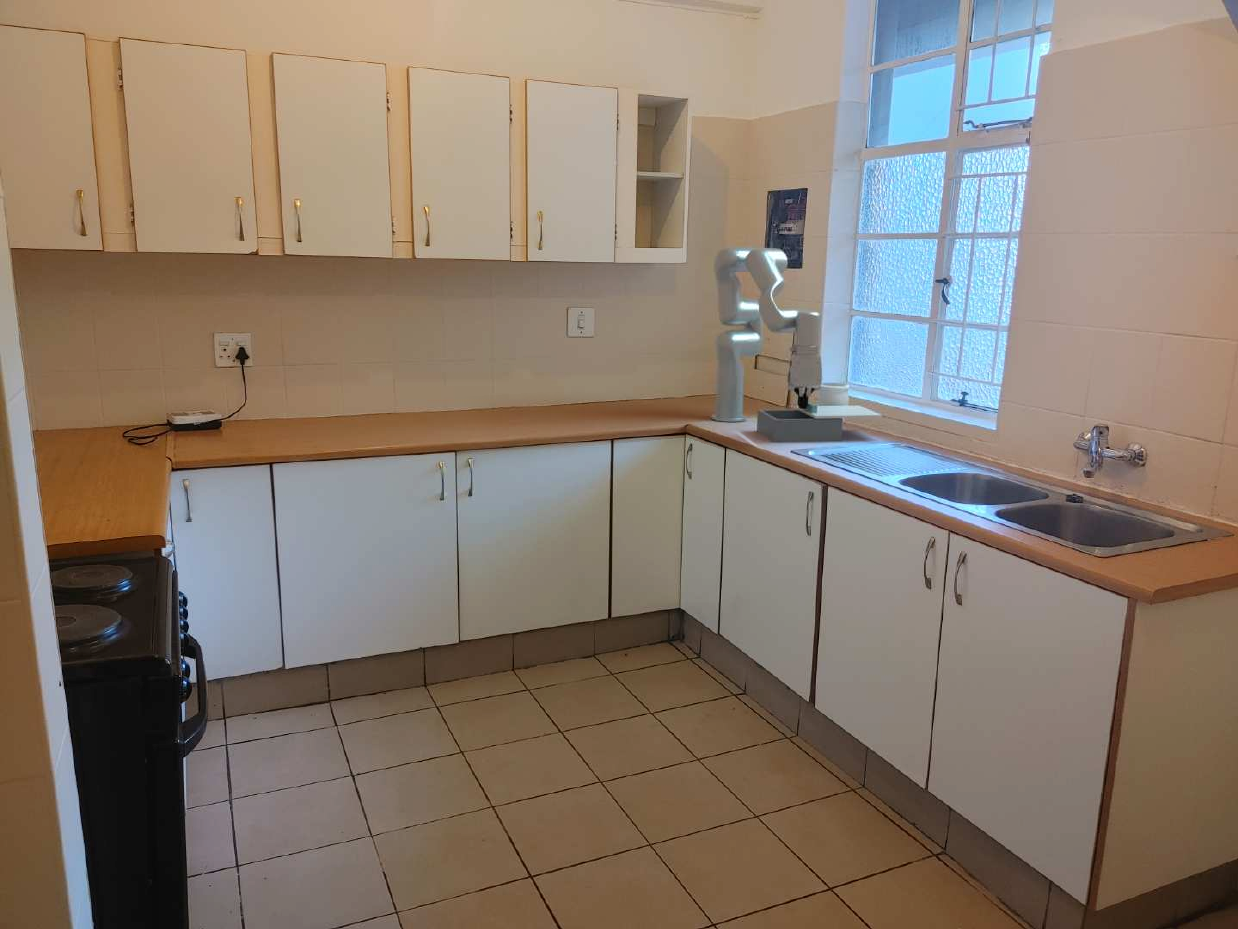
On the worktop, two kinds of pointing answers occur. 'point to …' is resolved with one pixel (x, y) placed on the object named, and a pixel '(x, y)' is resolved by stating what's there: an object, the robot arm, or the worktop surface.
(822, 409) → the lid
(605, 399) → the worktop surface
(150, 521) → the worktop surface
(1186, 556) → the worktop surface
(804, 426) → the storage box
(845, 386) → the jar
